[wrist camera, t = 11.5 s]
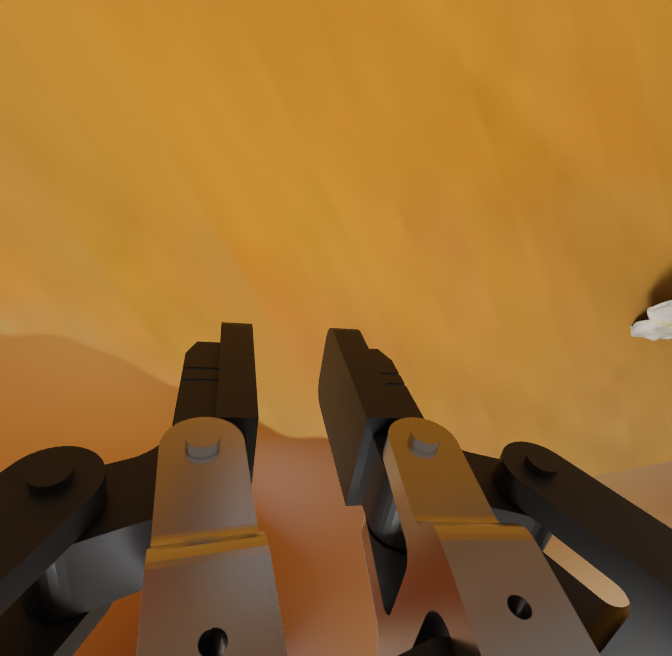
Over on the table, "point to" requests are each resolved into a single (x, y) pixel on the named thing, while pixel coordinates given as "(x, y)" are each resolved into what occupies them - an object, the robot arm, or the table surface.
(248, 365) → the robot arm
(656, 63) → the table surface
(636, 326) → the artificial flower
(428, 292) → the table surface
